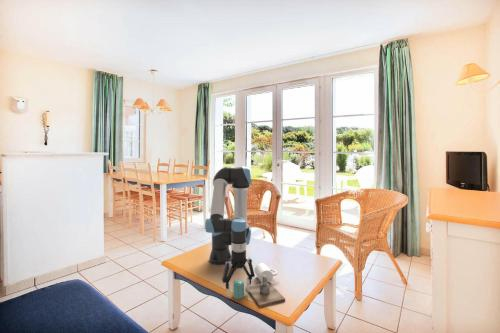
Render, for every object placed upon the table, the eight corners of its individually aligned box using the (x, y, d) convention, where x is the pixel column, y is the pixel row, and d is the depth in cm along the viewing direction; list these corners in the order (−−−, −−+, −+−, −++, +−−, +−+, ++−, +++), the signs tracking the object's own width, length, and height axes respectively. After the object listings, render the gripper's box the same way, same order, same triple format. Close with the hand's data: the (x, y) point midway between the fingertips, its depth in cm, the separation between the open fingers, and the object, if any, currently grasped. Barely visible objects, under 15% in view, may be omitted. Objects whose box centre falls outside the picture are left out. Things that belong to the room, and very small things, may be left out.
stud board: (245, 288, 137) (246, 271, 136) (269, 283, 142) (269, 267, 142) (259, 307, 120) (259, 287, 120) (285, 301, 125) (285, 282, 125)
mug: (259, 285, 141) (259, 271, 140) (254, 276, 150) (254, 263, 150) (279, 282, 144) (279, 268, 143) (273, 274, 153) (273, 261, 153)
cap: (231, 293, 131) (232, 280, 131) (241, 291, 133) (241, 279, 133) (235, 299, 126) (235, 285, 126) (245, 297, 128) (245, 283, 128)
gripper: (219, 255, 121) (219, 301, 122) (261, 249, 129) (261, 291, 131) (215, 250, 128) (215, 293, 129) (255, 244, 136) (255, 284, 137)
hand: (238, 292), depth 130 cm, fingers open, 10 cm apart
